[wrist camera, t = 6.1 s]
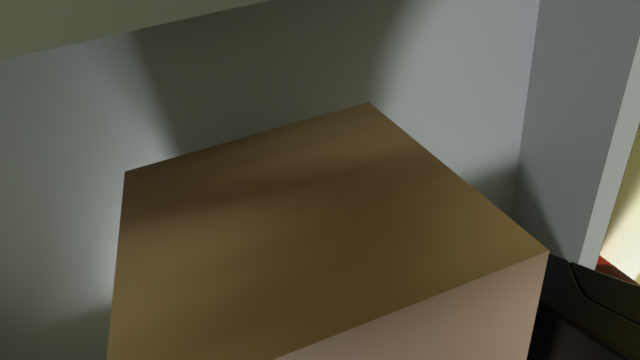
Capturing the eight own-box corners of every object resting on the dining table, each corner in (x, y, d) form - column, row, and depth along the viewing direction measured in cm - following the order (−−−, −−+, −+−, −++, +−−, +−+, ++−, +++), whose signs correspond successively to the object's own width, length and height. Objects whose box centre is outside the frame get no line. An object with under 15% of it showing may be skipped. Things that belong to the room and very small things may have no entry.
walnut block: (203, 336, 11) (236, 585, 7) (124, 171, 8) (98, 428, 4) (383, 269, 12) (507, 452, 8) (369, 101, 9) (549, 250, 5)
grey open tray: (28, 360, 15) (-24, 546, 11) (-277, 22, 9) (-740, 134, 4) (484, 199, 19) (589, 287, 14) (512, -125, 12) (722, -151, 8)
